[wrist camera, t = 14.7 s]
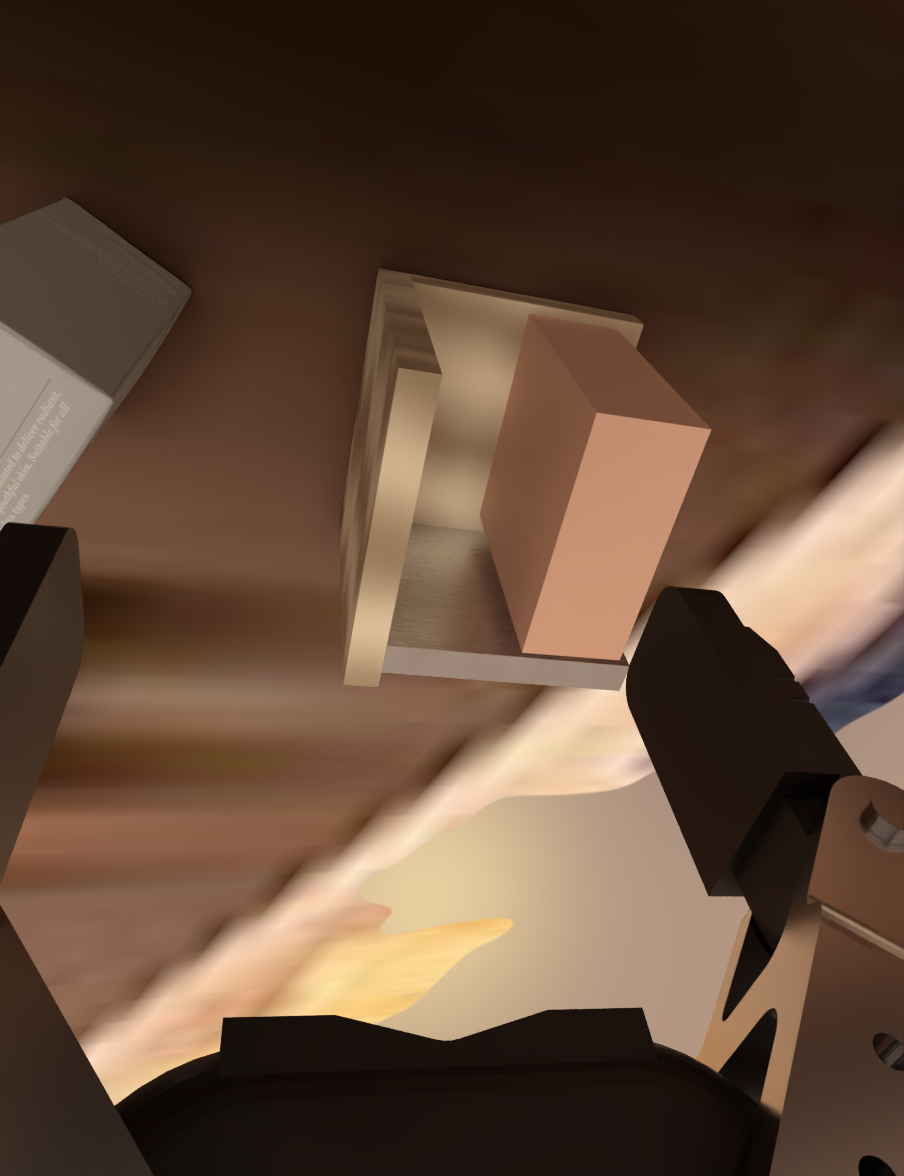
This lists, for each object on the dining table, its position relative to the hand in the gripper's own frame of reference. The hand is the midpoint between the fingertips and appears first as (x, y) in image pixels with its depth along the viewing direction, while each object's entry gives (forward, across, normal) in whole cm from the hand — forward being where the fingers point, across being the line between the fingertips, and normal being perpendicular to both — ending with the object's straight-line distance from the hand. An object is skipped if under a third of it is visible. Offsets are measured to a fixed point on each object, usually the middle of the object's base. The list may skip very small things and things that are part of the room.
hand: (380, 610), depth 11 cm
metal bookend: (+29, -9, +16) cm, 35 cm away
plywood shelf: (+31, -8, +10) cm, 33 cm away
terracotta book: (+29, -11, +9) cm, 33 cm away
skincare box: (+31, +11, +7) cm, 34 cm away
